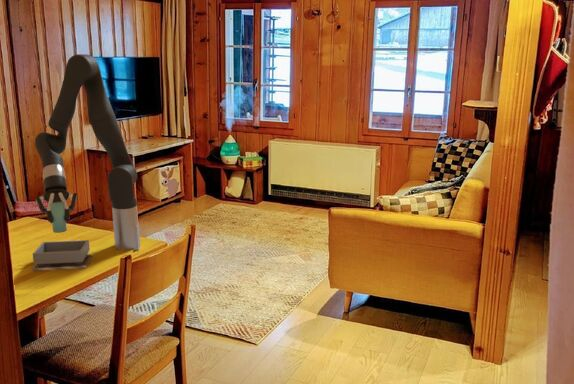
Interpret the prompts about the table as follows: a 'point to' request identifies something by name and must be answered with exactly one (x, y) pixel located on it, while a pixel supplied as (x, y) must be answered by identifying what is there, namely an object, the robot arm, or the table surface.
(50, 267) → the rail board
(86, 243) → the grey shallow tray
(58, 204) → the teal rectangular block
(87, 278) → the table surface
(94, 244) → the table surface
